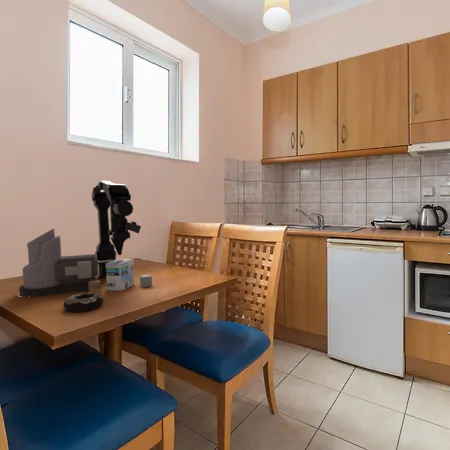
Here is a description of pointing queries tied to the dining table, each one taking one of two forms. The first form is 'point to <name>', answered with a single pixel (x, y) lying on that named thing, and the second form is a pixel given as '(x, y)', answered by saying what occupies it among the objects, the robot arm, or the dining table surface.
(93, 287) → the walnut marked block
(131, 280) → the light bulb box
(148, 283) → the grey marked block
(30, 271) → the grey boxy piece
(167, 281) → the dining table surface
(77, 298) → the donut
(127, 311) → the dining table surface
